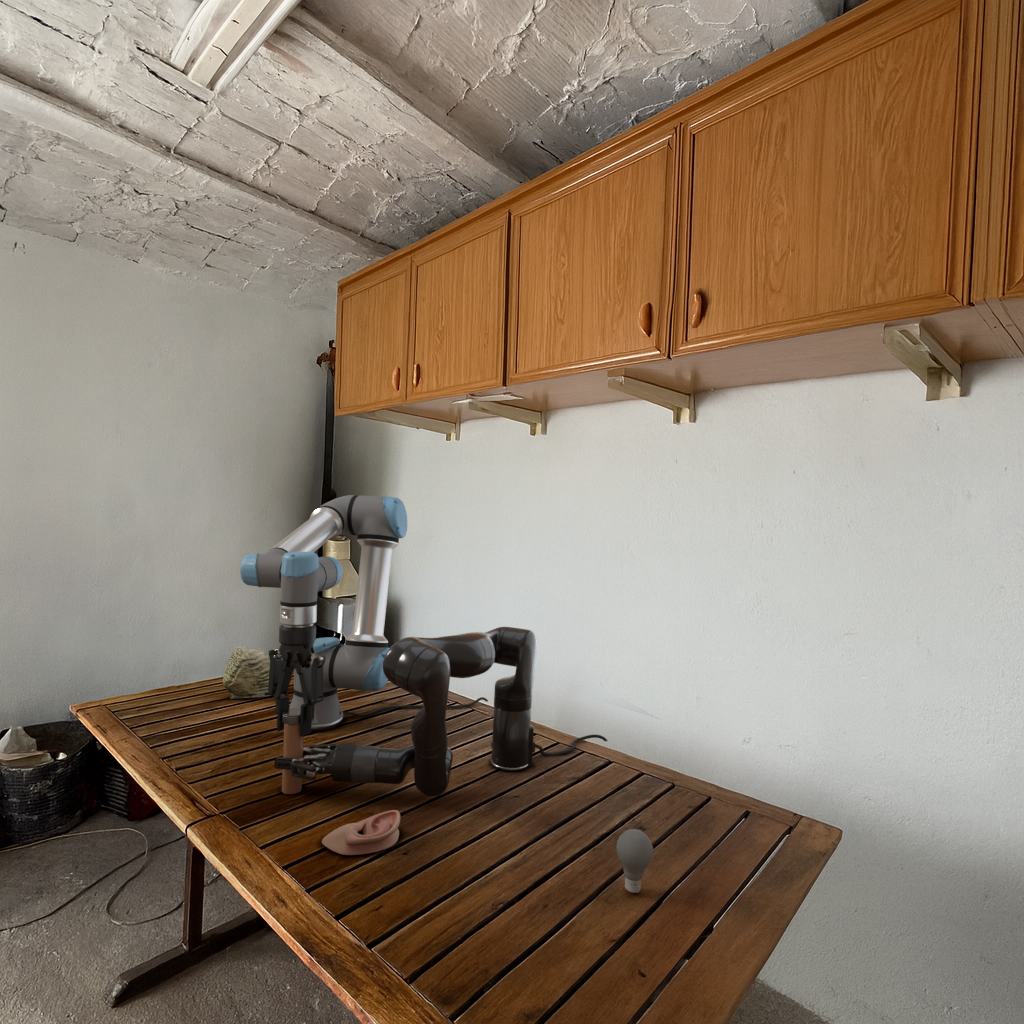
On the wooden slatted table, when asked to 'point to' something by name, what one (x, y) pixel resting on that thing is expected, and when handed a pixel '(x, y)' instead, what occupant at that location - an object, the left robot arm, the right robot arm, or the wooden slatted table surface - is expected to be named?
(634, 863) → the light bulb
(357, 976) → the wooden slatted table surface
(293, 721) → the lid
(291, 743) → the brown cylindrical rod
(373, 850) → the anatomical model
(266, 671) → the fossil
